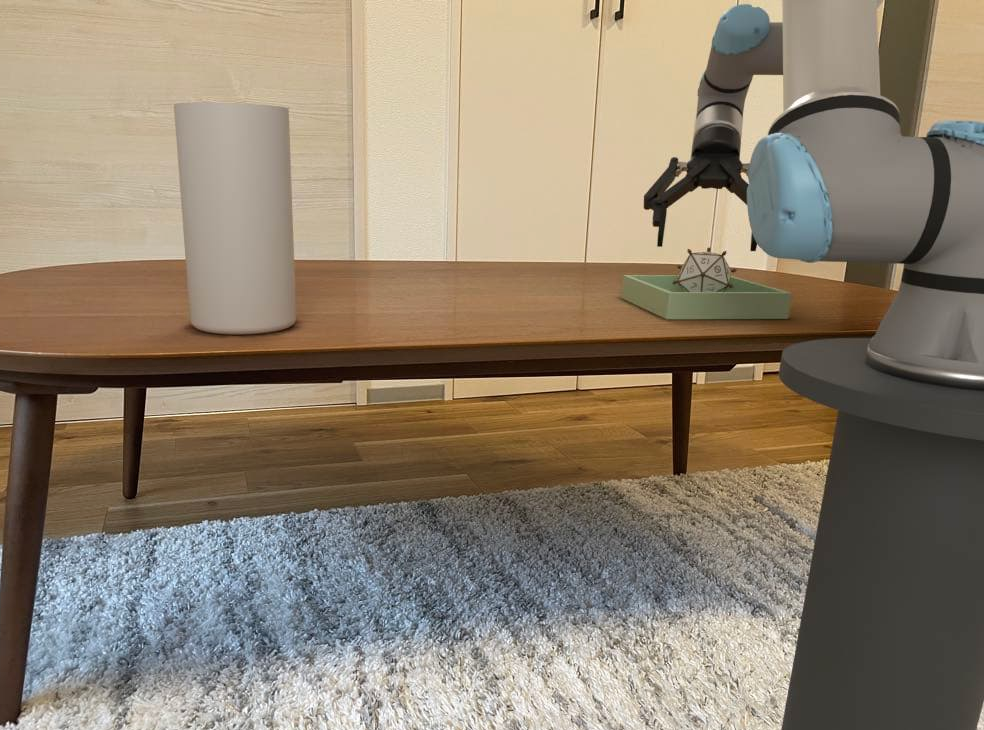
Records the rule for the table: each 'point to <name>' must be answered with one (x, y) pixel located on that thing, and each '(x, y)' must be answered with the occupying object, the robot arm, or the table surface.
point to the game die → (705, 272)
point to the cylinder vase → (237, 216)
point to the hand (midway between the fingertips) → (706, 243)
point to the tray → (706, 299)
